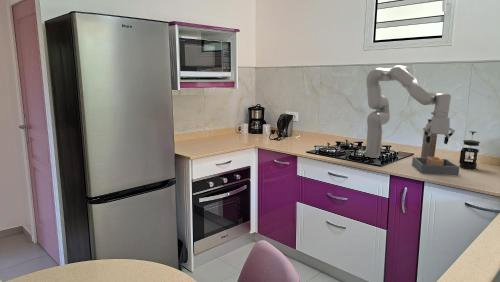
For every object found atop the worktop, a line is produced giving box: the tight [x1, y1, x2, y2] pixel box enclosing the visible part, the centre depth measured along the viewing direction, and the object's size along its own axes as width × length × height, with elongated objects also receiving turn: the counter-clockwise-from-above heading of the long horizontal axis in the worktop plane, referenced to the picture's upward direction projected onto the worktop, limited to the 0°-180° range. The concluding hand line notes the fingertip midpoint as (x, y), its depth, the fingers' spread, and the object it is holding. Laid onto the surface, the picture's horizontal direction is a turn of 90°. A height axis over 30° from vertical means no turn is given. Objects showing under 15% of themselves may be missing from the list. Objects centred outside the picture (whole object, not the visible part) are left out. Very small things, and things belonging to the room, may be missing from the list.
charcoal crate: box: [411, 156, 461, 177], centre depth 213 cm, size 20×20×5 cm
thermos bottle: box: [420, 118, 438, 158], centre depth 233 cm, size 8×8×28 cm
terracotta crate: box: [426, 156, 444, 166], centre depth 213 cm, size 7×9×6 cm
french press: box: [458, 130, 481, 171], centre depth 219 cm, size 12×9×23 cm
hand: (436, 143), depth 211 cm, fingers open, 9 cm apart
